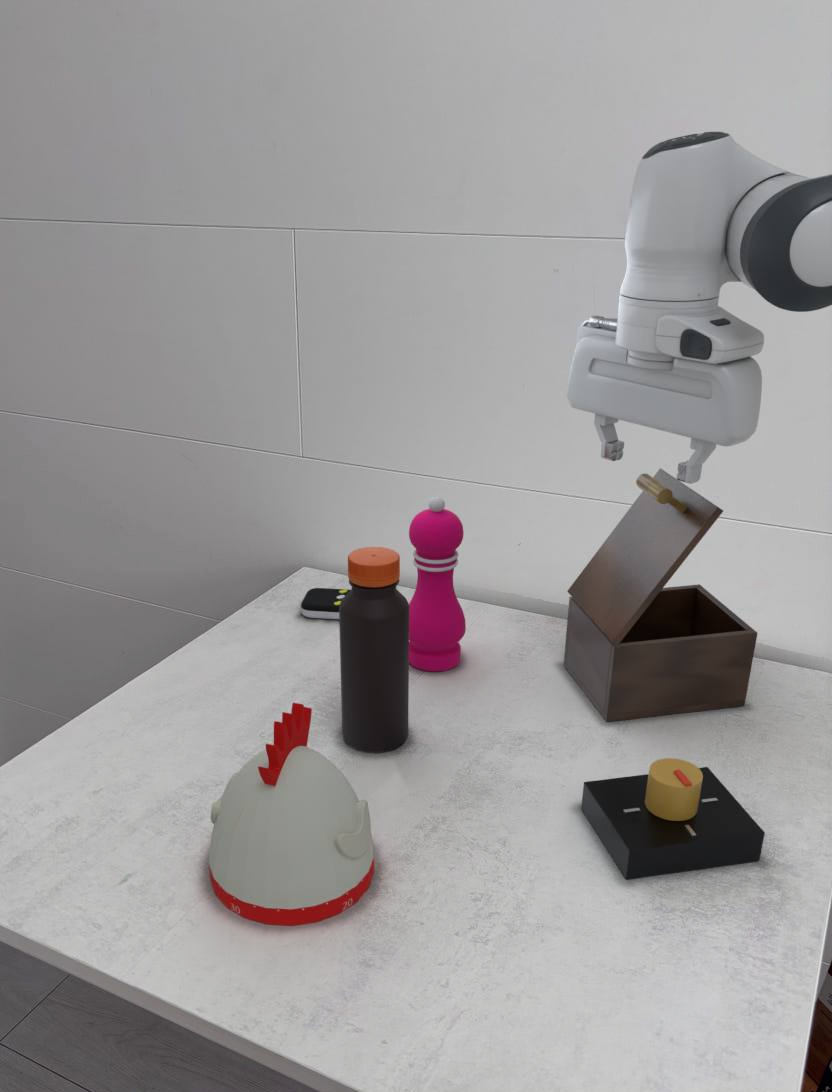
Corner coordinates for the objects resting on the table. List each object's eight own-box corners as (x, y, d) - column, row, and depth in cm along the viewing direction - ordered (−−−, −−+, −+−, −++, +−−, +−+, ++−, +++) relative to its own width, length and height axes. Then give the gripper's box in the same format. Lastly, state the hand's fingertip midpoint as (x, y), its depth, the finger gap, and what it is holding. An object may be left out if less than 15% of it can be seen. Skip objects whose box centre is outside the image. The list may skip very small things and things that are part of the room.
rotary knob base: (702, 793, 96) (707, 765, 94) (759, 861, 87) (765, 831, 85) (580, 808, 94) (583, 780, 92) (625, 879, 85) (629, 849, 84)
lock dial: (635, 794, 90) (640, 758, 89) (681, 787, 91) (687, 752, 89) (659, 824, 87) (665, 787, 85) (707, 817, 87) (713, 780, 86)
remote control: (308, 598, 136) (308, 584, 135) (404, 603, 134) (404, 589, 133) (298, 618, 130) (298, 604, 130) (398, 624, 128) (398, 610, 128)
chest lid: (665, 471, 109) (634, 450, 108) (723, 510, 98) (690, 487, 96) (572, 594, 114) (541, 575, 112) (618, 645, 103) (584, 625, 101)
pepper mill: (396, 648, 123) (397, 488, 114) (455, 642, 124) (459, 483, 115) (410, 677, 116) (412, 510, 107) (472, 670, 117) (478, 505, 108)
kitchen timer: (396, 838, 90) (397, 691, 84) (336, 943, 79) (331, 783, 72) (256, 805, 95) (245, 663, 88) (179, 899, 84) (161, 745, 77)
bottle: (406, 718, 108) (408, 542, 99) (409, 753, 102) (411, 569, 93) (342, 719, 108) (338, 543, 99) (342, 754, 102) (337, 570, 93)
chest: (689, 652, 120) (699, 584, 116) (744, 706, 109) (757, 632, 105) (563, 665, 118) (569, 596, 114) (606, 722, 107) (614, 647, 103)
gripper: (558, 316, 101) (549, 452, 108) (738, 347, 87) (715, 502, 93) (601, 309, 105) (589, 441, 111) (781, 337, 90) (756, 488, 96)
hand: (648, 469), depth 102 cm, fingers open, 8 cm apart
